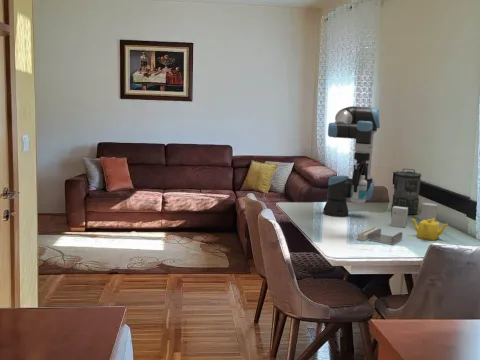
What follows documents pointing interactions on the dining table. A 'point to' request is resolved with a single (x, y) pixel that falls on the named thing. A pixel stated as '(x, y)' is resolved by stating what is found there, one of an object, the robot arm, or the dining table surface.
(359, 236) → the door edge
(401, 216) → the small box
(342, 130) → the robot arm
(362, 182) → the pill bottle
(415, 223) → the teapot
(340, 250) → the dining table surface
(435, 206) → the cup
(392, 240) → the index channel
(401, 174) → the canister
